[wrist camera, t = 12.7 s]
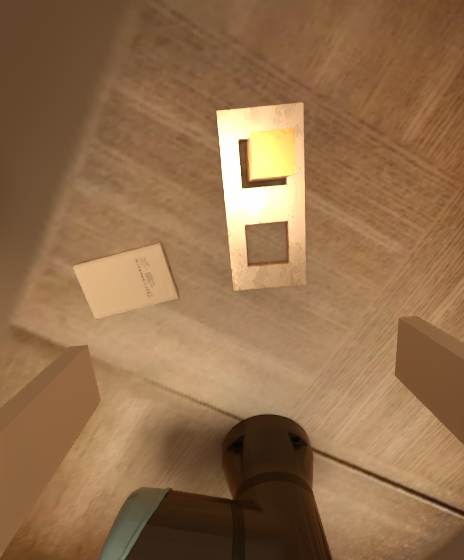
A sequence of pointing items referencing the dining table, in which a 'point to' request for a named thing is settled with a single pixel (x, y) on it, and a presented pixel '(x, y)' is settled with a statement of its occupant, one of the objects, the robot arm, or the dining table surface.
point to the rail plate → (263, 197)
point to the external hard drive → (126, 281)
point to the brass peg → (270, 155)
